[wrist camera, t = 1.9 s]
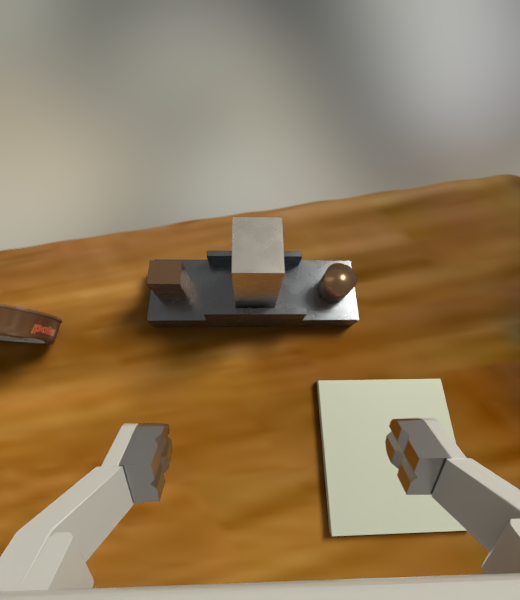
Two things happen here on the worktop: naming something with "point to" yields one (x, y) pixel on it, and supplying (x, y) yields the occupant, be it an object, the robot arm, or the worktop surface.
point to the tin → (27, 325)
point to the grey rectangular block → (257, 261)
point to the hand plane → (222, 313)
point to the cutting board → (376, 456)
